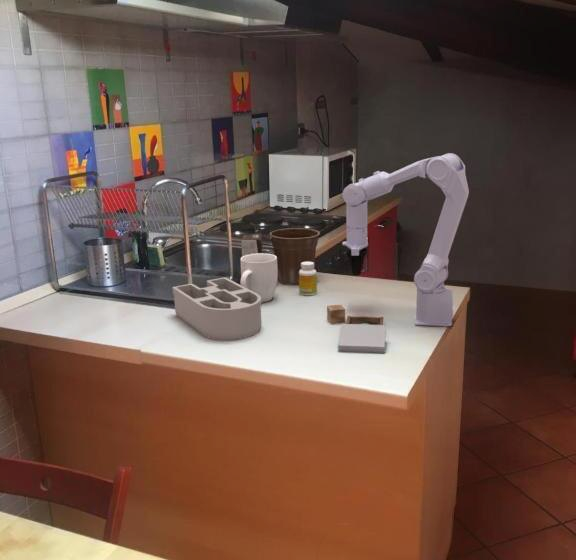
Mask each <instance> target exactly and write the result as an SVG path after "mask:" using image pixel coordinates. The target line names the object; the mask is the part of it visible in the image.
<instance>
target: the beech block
mask: <svg viewBox="0 0 576 560" xmlns="http://www.w3.org/2000/svg"><path fill="white" fill-rule="evenodd" d="M326 320H327V321H328V322H329V325H336V324H337V325H338V324H346V308H345V307H344V306H343V305H342V304H333V305H331V304H330V305H327V306H326Z"/></svg>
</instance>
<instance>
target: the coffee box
mask: <svg viewBox="0 0 576 560" xmlns="http://www.w3.org/2000/svg"><path fill="white" fill-rule="evenodd" d="M241 237H242V238H240V239H241V240H240V241H241V242H240V243H241V257H243V256H245V255H249V254H257V253H264V252H263V250H264V249H263V234H262V233H250V234H247V233H246V234H242V236H241Z"/></svg>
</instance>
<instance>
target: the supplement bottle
mask: <svg viewBox="0 0 576 560" xmlns="http://www.w3.org/2000/svg"><path fill="white" fill-rule="evenodd" d="M301 268H302V269H301V270H300V271H299V288H298V289H299V291H298V293H299V294H300V295H301V296H314V295H316V294H317V291H318V290H317V288H318V287H317V285H318V284H317V280H318V279H317V270H316V269H315V266H314V263H313V262H302V263H301ZM313 268H314V269H313Z"/></svg>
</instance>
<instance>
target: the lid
mask: <svg viewBox="0 0 576 560" xmlns="http://www.w3.org/2000/svg"><path fill="white" fill-rule="evenodd" d="M337 343H338V344H337V348H338V351H337V352H356V353H380V352H381V353H382V354H383V353H385V352H386V350H385V349H386V325H385V324H383V325H359V324H346V323H340V327H339V336H338V342H337Z"/></svg>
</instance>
